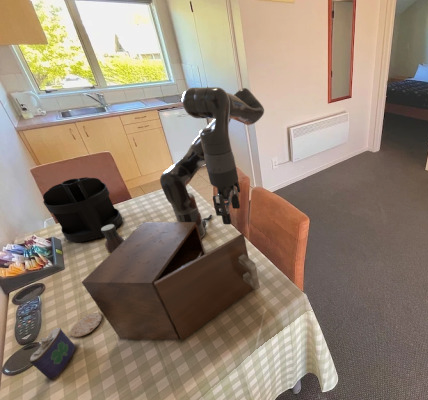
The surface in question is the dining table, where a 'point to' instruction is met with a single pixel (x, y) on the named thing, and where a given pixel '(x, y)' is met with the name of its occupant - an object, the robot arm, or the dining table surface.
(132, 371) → the dining table surface
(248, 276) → the door
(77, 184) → the container
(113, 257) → the cupboard
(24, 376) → the dining table surface
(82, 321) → the flatbread
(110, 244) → the sauce bottle
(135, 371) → the dining table surface
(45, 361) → the flask
